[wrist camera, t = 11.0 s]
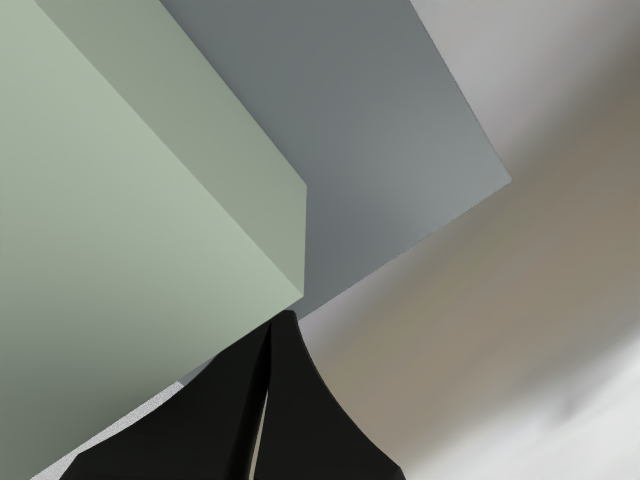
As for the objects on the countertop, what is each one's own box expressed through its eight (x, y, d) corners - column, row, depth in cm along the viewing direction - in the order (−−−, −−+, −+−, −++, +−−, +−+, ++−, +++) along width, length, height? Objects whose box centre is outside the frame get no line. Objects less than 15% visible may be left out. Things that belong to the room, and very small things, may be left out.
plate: (495, 170, 13) (514, 181, 12) (198, 368, 16) (189, 392, 15) (77, -548, 7) (31, -667, 6) (-259, -31, 10) (-335, -43, 9)
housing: (306, 185, 11) (303, 297, 6) (127, 318, 13) (-1, 499, 8) (80, -99, 9) (-302, -367, 3) (-109, 116, 10) (-565, 174, 5)
